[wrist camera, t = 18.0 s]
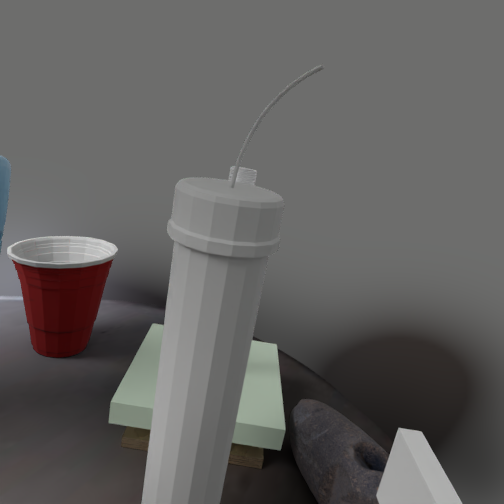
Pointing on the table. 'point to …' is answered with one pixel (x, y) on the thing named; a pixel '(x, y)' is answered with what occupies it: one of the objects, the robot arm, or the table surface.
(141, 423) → the pale mint square tile
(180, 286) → the pipe
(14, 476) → the table surface
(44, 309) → the plastic cup
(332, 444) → the perforated stone tool
